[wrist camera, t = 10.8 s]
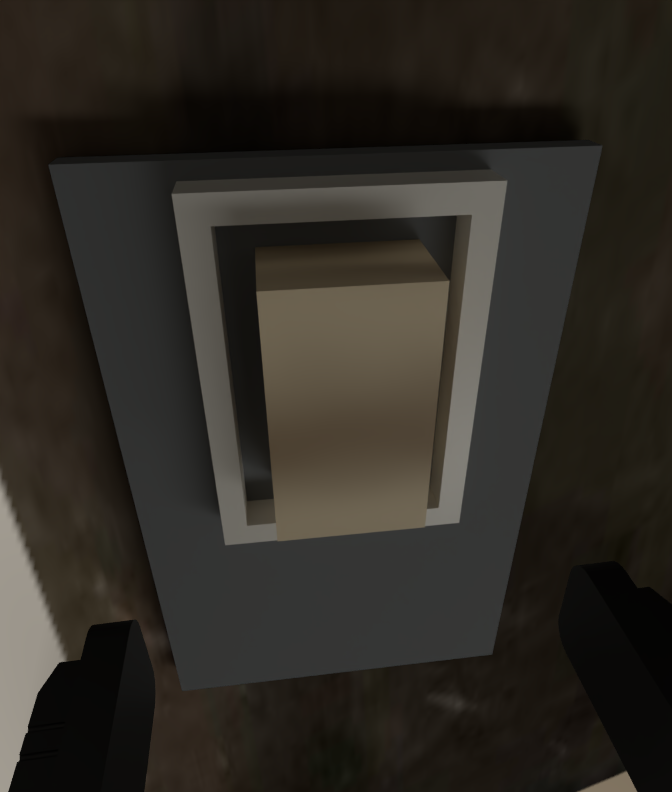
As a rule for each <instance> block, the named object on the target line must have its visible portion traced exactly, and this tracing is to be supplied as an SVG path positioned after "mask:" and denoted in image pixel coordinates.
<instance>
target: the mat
mask: <svg viewBox="0 0 672 792" xmlns="http://www.w3.org/2000/svg"><path fill="white" fill-rule="evenodd" d="M601 150H602V145H600V144H597V143H595V142H592V141H590V140H570V141H540V142H510V143H480V144H450V145H420V146H390V147H360V148H330V149H300V150H271V151H241V152H211V153H181V154H151V155H121V156H91V157H61V158H56V159H55V160H53V161H52V162H51V163H50V164H49V165H48V166H49V170H50V173H51V177H52V181H53V185H54V189H55V193H56V197H57V201H58V205H59V209H60V213H61V217H62V221H63V225H64V228H65V232H66V236H67V240H68V244H69V248H70V252H71V256H72V260H73V264H74V268H75V272H76V276H77V280H78V283H79V287H80V291H81V295H82V299H83V303H84V307H85V311H86V315H87V319H88V323H89V327H90V331H91V334H92V338H93V342H94V346H95V350H96V354H97V358H98V362H99V366H100V370H101V374H102V378H103V382H104V386H105V389H106V393H107V397H108V401H109V405H110V409H111V413H112V417H113V421H114V425H115V429H116V433H117V437H118V441H119V444H120V448H121V452H122V456H123V460H124V464H125V468H126V472H127V476H128V480H129V484H130V488H131V492H132V496H133V499H134V503H135V507H136V511H137V515H138V519H139V523H140V527H141V531H142V535H143V539H144V543H145V547H146V551H147V554H148V558H149V562H150V566H151V570H152V574H153V578H154V582H155V586H156V590H157V594H158V598H159V602H160V606H161V609H162V613H163V617H164V621H165V625H166V629H167V633H168V637H169V641H170V645H171V649H172V653H173V657H174V661H175V664H176V668H177V672H178V676H179V680H180V684H181V688H182V691H187V690H195V689H204V688H212V687H221V686H229V685H238V684H246V683H254V682H263V681H271V680H280V679H288V678H297V677H305V676H314V675H322V674H330V673H339V672H347V671H356V670H364V669H373V668H381V667H390V666H398V665H406V664H415V663H423V662H432V661H440V660H449V659H457V658H466V657H474V656H482V655H491V654H492V652H493V647H494V643H495V638H496V633H497V629H498V624H499V620H500V615H501V610H502V606H503V601H504V597H505V592H506V587H507V583H508V578H509V574H510V569H511V564H512V560H513V555H514V551H515V546H516V541H517V537H518V532H519V527H520V523H521V518H522V514H523V509H524V504H525V500H526V495H527V491H528V486H529V481H530V477H531V472H532V468H533V463H534V458H535V454H536V449H537V445H538V440H539V435H540V431H541V426H542V422H543V417H544V412H545V408H546V403H547V399H548V394H549V389H550V385H551V380H552V375H553V371H554V366H555V362H556V357H557V352H558V348H559V343H560V339H561V334H562V329H563V325H564V320H565V316H566V311H567V306H568V302H569V297H570V293H571V288H572V283H573V279H574V274H575V270H576V265H577V260H578V256H579V251H580V247H581V242H582V237H583V233H584V228H585V223H586V219H587V214H588V210H589V205H590V200H591V196H592V191H593V187H594V182H595V177H596V173H597V168H598V164H599V159H600V154H601ZM489 169H491V170H493V171H494V172H496V173H497V174H499V175H500V176H502V177H503V178H504V179H506V180H507V187H506V195H505V202H504V209H503V216H502V223H501V230H500V237H499V244H498V251H497V258H496V265H495V272H494V280H493V287H492V294H491V301H490V308H489V315H488V322H487V329H486V336H485V343H484V350H483V357H482V365H481V372H480V379H479V386H478V393H477V400H476V407H475V414H474V421H473V428H472V435H471V443H470V450H469V457H468V464H467V471H466V478H465V485H464V492H463V499H462V506H461V513H460V520H459V523H452V524H442V525H432V526H425V527H423V528H413V529H402V530H392V531H381V532H371V533H360V534H350V535H339V536H329V537H319V538H308V539H298V540H287V541H277V540H275V541H265V542H255V543H244V544H234V545H225V541H224V534H223V528H222V521H221V515H220V508H219V502H218V495H217V489H216V482H215V475H214V469H213V462H212V456H211V449H210V443H209V436H208V430H207V423H206V416H205V410H204V403H203V397H202V390H201V384H200V377H199V371H198V364H197V358H196V351H195V344H194V338H193V331H192V325H191V318H190V312H189V305H188V299H187V292H186V285H185V279H184V272H183V266H182V259H181V253H180V246H179V240H178V233H177V227H176V220H175V213H174V207H173V200H172V191H173V189H174V186H175V184H176V181H198V180H224V179H251V178H277V177H304V176H330V175H356V174H383V173H409V172H436V171H462V170H489ZM456 220H457V215H452V216H430V217H408V218H386V219H364V220H342V221H319V222H297V223H275V224H253V225H231V226H215V234H216V243H217V251H218V260H219V268H220V277H221V285H222V294H223V302H224V311H225V319H226V328H227V336H228V344H229V353H230V361H231V370H232V378H233V387H234V395H235V404H236V412H237V421H238V429H239V437H240V446H241V454H242V463H243V471H244V480H245V488H246V497H247V501H254V500H265V499H274V494H273V482H272V470H271V459H270V447H269V435H268V423H267V411H266V400H265V388H264V376H263V364H262V352H261V341H260V329H259V317H258V305H257V293H256V264H255V247H270V246H291V245H312V244H333V243H353V242H374V241H395V240H416V239H420V241H421V242H422V244H423V245H424V246H425V248H426V249H427V250H428V252H429V253H430V255H431V256H432V257H433V259H434V260H435V261H436V263H437V264H438V266H439V267H440V268H441V270H442V271H443V272H444V274H445V275H446V277H447V278H448V279H449V281H450V280H451V270H452V260H453V250H454V240H455V230H456ZM449 290H450V282H449ZM448 300H449V292H448ZM447 310H448V302H447ZM446 320H447V312H446ZM445 330H446V322H445ZM444 340H445V332H444ZM443 350H444V342H443ZM442 360H443V352H442ZM441 370H442V362H441ZM440 380H441V372H440ZM439 390H440V382H439ZM438 399H439V392H438ZM437 409H438V402H437ZM436 419H437V412H436ZM435 429H436V422H435ZM434 439H435V432H434ZM433 449H434V442H433ZM432 459H433V452H432ZM431 469H432V462H431ZM430 479H431V472H430ZM429 485H430V482H429Z"/></svg>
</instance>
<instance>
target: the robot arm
mask: <svg viewBox="0 0 672 792" xmlns="http://www.w3.org/2000/svg"><path fill="white" fill-rule="evenodd" d="M559 632H560V637H561V641H562V644H563V647H564V649H565V651H566V654H567V655H568V657H569V659H570V661H571V663H572V665H573V667H574V669H575V671H576V673H577V675H578V677H579V679H580V681H581V683H582V685H583V687H584V689H585V691H586V693H587V694H588V696H589V698H590V700H591V702H592V704H593V706H594V708H595V710H596V712H597V714H598V716H599V718H600V720H601V722H602V724H603V726H604V728H605V730H606V731H607V733H608V735H609V737H610V739H611V741H612V743H613V745H614V747H615V749H616V751H617V753H618V755H619V757H620V759H621V761H622V763H623V765H624V767H625V769H626V770H627V772H628V774H629V776H630V778H631V780H632V782H633V784H634V786H635V788H636V790H637V792H672V604H671V603H669V602H668V601H667V600H665V599H664V598H663V597H662V596H660V595H659V594H658V593H657V592H655V591H654V590H653V589H651V588H650V587H645V588H637V587H636V585H635V584H634V582H633V581H632V580H631V578H630V577H629V575H628V574H627V572H626V571H625V570H624V568H623V567H622V566H621V565H620V564H618V563H617V562H615V561H609V562H601V563H594V564H586V565H578V566H574V567H573V568H572V570H571V572H570V576H569V580H568V584H567V587H566V591H565V595H564V599H563V603H562V607H561V610H560V614H559ZM154 708H155V678H154V672H153V668H152V665H151V661H150V658H149V655H148V652H147V648H146V645H145V642H144V639H143V635H142V632H141V629H140V626H139V623H138V621H137V620H129V621H121V622H113V623H105V624H97V625H92V626H91V627H90V629H89V631H88V633H87V637H86V641H85V645H84V649H83V653H82V657H81V660H76V661H68V662H60V663H59V664H58V665H57V667H56V668H55V669H54V671H53V672H52V674H51V675H50V677H49V678H48V679H47V681H46V682H45V684H44V685H43V687H42V688H41V689H40V691H39V692H38V695H37V698H36V701H35V704H34V708H33V712H32V714H31V718H30V721H29V724H28V733H26V735H25V738H24V741H23V745H22V748H21V751H20V760H19V762H17V765H16V768H15V771H14V775H13V778H12V781H11V785H10V788H9V791H8V792H144V789H145V781H146V773H147V765H148V757H149V749H150V741H151V733H152V724H153V716H154Z"/></svg>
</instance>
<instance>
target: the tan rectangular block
mask: <svg viewBox="0 0 672 792" xmlns="http://www.w3.org/2000/svg"><path fill="white" fill-rule="evenodd" d="M255 264H256V293H257V305H258V317H259V329H260V341H261V352H262V364H263V376H264V388H265V400H266V411H267V423H268V435H269V447H270V459H271V470H272V482H273V494H274V506H275V518H276V529H277V541H287V540H298V539H308V538H319V537H329V536H339V535H350V534H360V533H371V532H381V531H392V530H402V529H413V528H423V527H425V522H426V512H427V502H428V492H429V482H430V472H431V462H432V452H433V442H434V432H435V422H436V412H437V402H438V392H439V382H440V372H441V362H442V352H443V342H444V332H445V322H446V312H447V302H448V292H449V282H450V281H449V279H448V278H447V277H446V275H445V274H444V272H443V271H442V270H441V268H440V267H439V266H438V264H437V263H436V261H435V260H434V259H433V257H432V256H431V255H430V253H429V252H428V250H427V249H426V248H425V246H424V245H423V244H422V242H421V241H420V239H416V240H395V241H374V242H353V243H333V244H312V245H291V246H270V247H255Z"/></svg>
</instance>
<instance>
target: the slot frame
mask: <svg viewBox="0 0 672 792" xmlns="http://www.w3.org/2000/svg"><path fill="white" fill-rule="evenodd" d="M506 187H507V180H506V179H504V178H503V177H502V176H500V175H499V174H497V173H496V172H494V171H493V170H491V169H489V170H462V171H436V172H409V173H383V174H356V175H330V176H304V177H277V178H251V179H224V180H198V181H176V184H175V186H174V189H173V191H172V200H173V207H174V213H175V220H176V227H177V233H178V240H179V246H180V253H181V259H182V266H183V272H184V279H185V285H186V292H187V299H188V305H189V312H190V318H191V325H192V331H193V338H194V344H195V351H196V358H197V364H198V371H199V377H200V384H201V390H202V397H203V403H204V410H205V416H206V423H207V430H208V436H209V443H210V449H211V456H212V462H213V469H214V475H215V482H216V489H217V495H218V502H219V508H220V515H221V521H222V528H223V534H224V541H225V545H234V544H244V543H255V542H265V541H275V540H277V529H276V518H275V506H274V499H265V500H254V501H247V497H246V488H245V480H244V471H243V463H242V454H241V446H240V437H239V429H238V421H237V412H236V404H235V395H234V387H233V378H232V370H231V361H230V353H229V344H228V336H227V328H226V319H225V311H224V302H223V294H222V285H221V277H220V268H219V260H218V251H217V243H216V234H215V226H231V225H253V224H275V223H297V222H319V221H342V220H364V219H386V218H408V217H430V216H452V215H457V220H456V230H455V240H454V250H453V260H452V270H451V280H450V290H449V300H448V310H447V320H446V330H445V340H444V350H443V360H442V370H441V380H440V390H439V399H438V409H437V419H436V429H435V439H434V449H433V459H432V469H431V479H430V485H429V492H428V502H427V512H426V522H425V526H432V525H442V524H452V523H459V520H460V513H461V506H462V499H463V492H464V485H465V478H466V471H467V464H468V457H469V450H470V443H471V435H472V428H473V421H474V414H475V407H476V400H477V393H478V386H479V379H480V372H481V365H482V357H483V350H484V343H485V336H486V329H487V322H488V315H489V308H490V301H491V294H492V287H493V280H494V272H495V265H496V258H497V251H498V244H499V237H500V230H501V223H502V216H503V209H504V202H505V195H506Z"/></svg>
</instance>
